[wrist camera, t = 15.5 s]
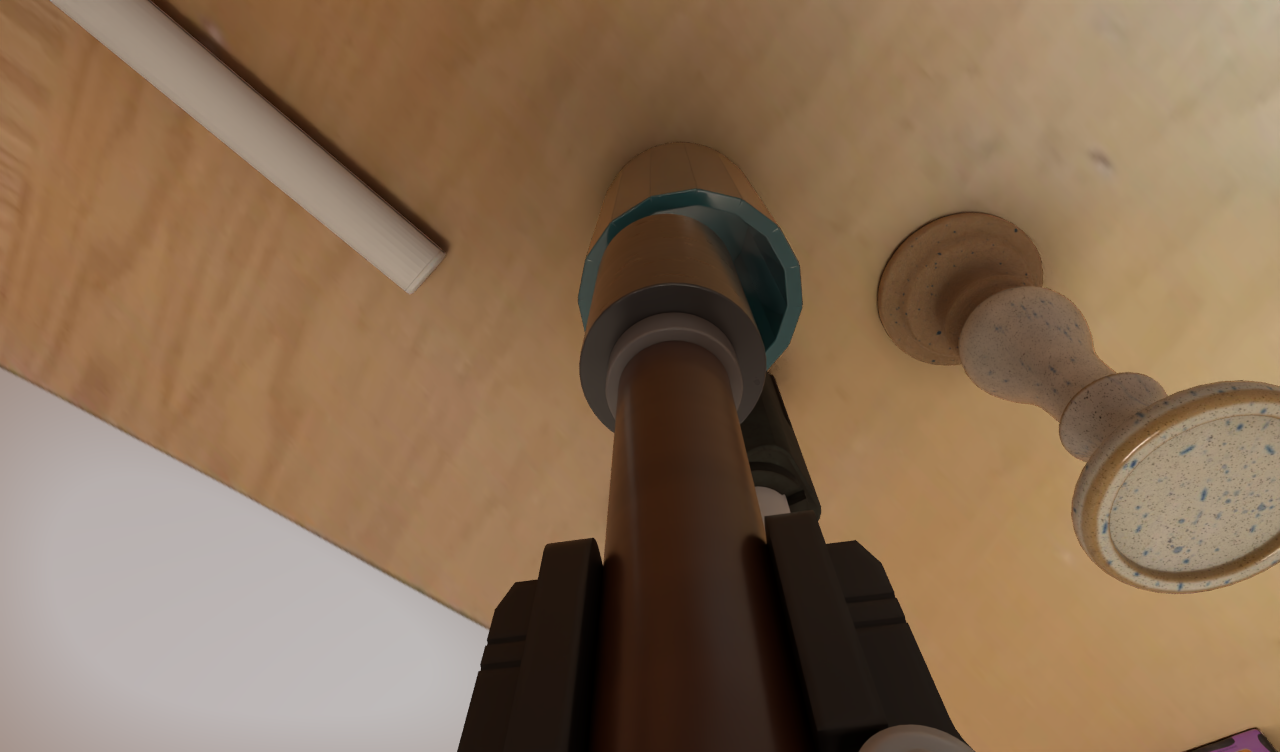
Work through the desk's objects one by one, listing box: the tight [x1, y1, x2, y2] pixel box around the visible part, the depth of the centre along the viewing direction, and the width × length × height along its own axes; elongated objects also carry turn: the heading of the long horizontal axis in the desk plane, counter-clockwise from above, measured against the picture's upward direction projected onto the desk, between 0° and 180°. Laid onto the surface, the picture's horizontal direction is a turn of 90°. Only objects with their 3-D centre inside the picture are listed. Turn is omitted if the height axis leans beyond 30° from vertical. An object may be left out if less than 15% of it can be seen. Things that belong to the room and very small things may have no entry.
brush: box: [579, 214, 815, 752], centre depth 15 cm, size 5×5×19 cm
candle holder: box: [878, 213, 1280, 594], centre depth 30 cm, size 9×9×20 cm
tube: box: [50, 0, 446, 294], centre depth 34 cm, size 3×3×25 cm
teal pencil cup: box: [578, 142, 803, 371], centre depth 32 cm, size 8×8×13 cm
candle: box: [740, 371, 821, 533], centre depth 31 cm, size 5×5×25 cm
